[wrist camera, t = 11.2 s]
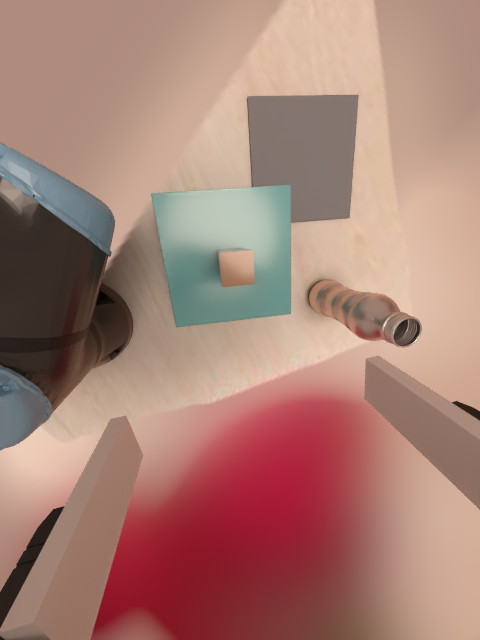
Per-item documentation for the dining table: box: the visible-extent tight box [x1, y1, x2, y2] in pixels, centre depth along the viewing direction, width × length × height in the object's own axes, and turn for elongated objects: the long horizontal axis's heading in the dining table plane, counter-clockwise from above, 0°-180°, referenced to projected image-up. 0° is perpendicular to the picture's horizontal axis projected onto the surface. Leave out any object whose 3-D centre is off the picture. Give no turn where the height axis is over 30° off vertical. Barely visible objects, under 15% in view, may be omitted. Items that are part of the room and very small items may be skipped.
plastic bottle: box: [309, 280, 422, 347], centre depth 34 cm, size 6×7×20 cm
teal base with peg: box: [151, 185, 291, 327], centre depth 29 cm, size 16×16×20 cm
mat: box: [247, 95, 358, 222], centre depth 36 cm, size 17×17×1 cm
